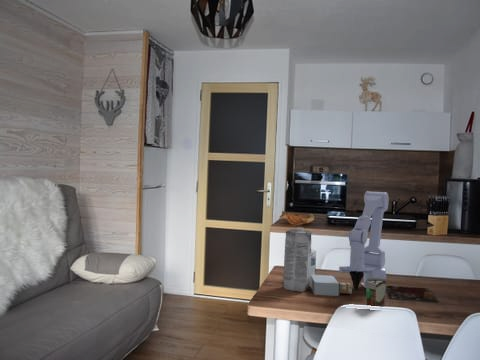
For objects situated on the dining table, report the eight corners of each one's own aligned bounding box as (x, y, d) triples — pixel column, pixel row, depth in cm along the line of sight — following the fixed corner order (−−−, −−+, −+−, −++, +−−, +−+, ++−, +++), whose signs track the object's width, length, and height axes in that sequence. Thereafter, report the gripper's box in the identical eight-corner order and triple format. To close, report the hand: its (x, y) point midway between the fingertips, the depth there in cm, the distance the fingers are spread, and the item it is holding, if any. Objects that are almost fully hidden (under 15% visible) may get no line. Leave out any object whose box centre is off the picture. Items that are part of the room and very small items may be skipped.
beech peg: (349, 291, 178) (350, 282, 178) (351, 293, 174) (352, 285, 174) (326, 289, 178) (326, 281, 178) (328, 292, 175) (328, 283, 175)
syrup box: (309, 282, 194) (311, 251, 194) (298, 280, 197) (300, 249, 197) (315, 280, 198) (316, 250, 198) (304, 278, 202) (305, 248, 202)
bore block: (333, 287, 186) (333, 275, 186) (339, 296, 172) (340, 283, 172) (310, 286, 187) (310, 274, 187) (314, 294, 173) (315, 282, 173)
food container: (370, 300, 168) (371, 276, 168) (385, 304, 164) (387, 279, 164) (358, 307, 158) (359, 281, 158) (374, 310, 154) (375, 284, 154)
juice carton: (305, 293, 174) (307, 229, 174) (281, 289, 178) (284, 227, 178) (310, 288, 182) (313, 227, 182) (287, 285, 186) (290, 225, 186)
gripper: (342, 258, 172) (340, 290, 172) (377, 260, 172) (375, 292, 172) (338, 255, 179) (337, 286, 179) (372, 257, 179) (370, 288, 179)
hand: (355, 289), depth 176 cm, fingers closed
